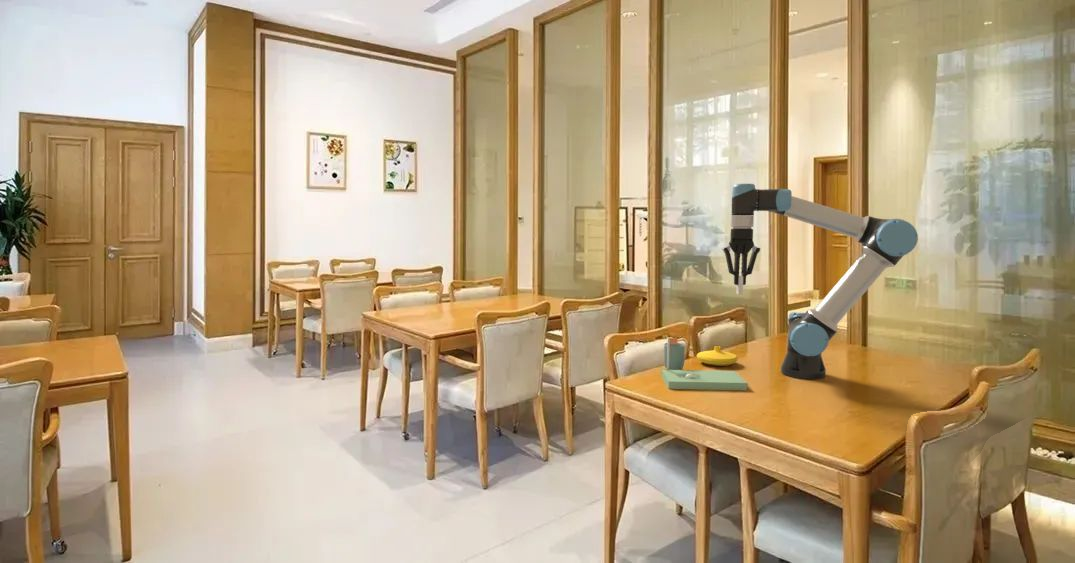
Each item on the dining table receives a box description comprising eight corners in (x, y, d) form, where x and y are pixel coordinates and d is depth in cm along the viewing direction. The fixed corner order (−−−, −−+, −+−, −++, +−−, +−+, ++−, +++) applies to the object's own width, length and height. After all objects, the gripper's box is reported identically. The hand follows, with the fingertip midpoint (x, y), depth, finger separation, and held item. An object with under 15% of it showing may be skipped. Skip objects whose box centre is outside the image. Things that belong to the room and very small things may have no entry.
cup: (684, 373, 223) (685, 347, 221) (663, 372, 224) (664, 346, 223) (684, 368, 230) (684, 342, 229) (663, 367, 232) (664, 342, 231)
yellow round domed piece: (743, 369, 230) (744, 351, 229) (702, 368, 230) (702, 350, 230) (730, 359, 246) (731, 342, 245) (692, 359, 246) (692, 342, 245)
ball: (689, 370, 211) (682, 376, 212) (691, 373, 208) (683, 378, 208) (695, 377, 211) (687, 383, 212) (696, 380, 208) (689, 385, 209)
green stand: (734, 377, 217) (735, 338, 216) (746, 390, 201) (748, 347, 200) (661, 376, 218) (662, 337, 217) (668, 388, 203) (669, 346, 201)
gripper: (757, 227, 216) (754, 293, 218) (720, 227, 216) (718, 292, 219) (764, 228, 208) (761, 295, 211) (726, 227, 209) (723, 295, 211)
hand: (739, 294), depth 215 cm, fingers closed
